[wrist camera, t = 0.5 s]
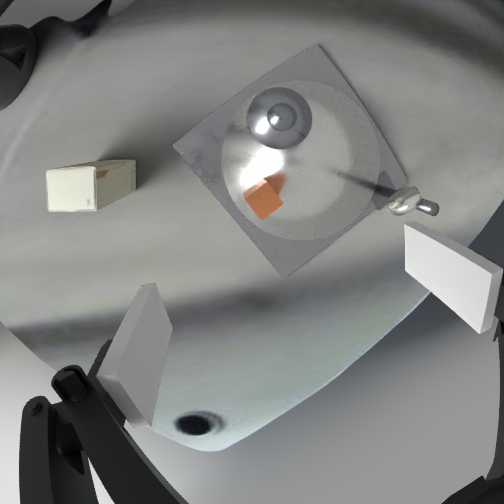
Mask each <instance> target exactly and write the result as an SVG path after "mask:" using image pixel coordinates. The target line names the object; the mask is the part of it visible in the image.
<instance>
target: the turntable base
mask: <svg viewBox="0 0 504 504" xmlns="http://www.w3.org/2000/svg"><path fill="white" fill-rule="evenodd" d="M294 80H306V81H313V82H318V83H321V84H325V85H328V86H330V87H332V88H335V89H337V90H338V91H340V92H342V93H343V94H345V95H346V96H347V97H349V98H350V99H351V100H352V101H354V102H355V103H356V104H357V106H358V107H359V108H360V109H361V110H362V111H363V113H364V114H365V115H366V117H367V118H368V120H369V122H370V124H371V125H372V128H373V130H374V132H375V135H376V138H377V142H378V146H379V153H380V169H379V175H381V174H382V173H383V172H384V171H386V172H387V174H388V176H389V177H390V179H391V181H392V183H393V185H394V187H395V188H396V190H398V189H400V188H401V187H402V186H403V185H405V184H406V183H407V182H408V181H407V179H406V177H405V175H404V173H403V171H402V169H401V167H400V165H399V164H398V162H397V160H396V158H395V156H394V155H393V153H392V151H391V149H390V148H389V146H388V144H387V142H386V141H385V139H384V137H383V136H382V134H381V132H380V131H379V129H378V128H377V126H376V124H375V123H374V121H373V120H372V118H371V117H370V115H369V113H368V112H367V110H366V109H365V107H364V106H363V104H362V103H361V101H360V100H359V99H358V97H357V96H356V94H355V93H354V91H353V90H352V89H351V87H350V86H349V84H348V83H347V82H346V80H345V79H344V78H343V76H342V75H341V74H340V72H339V71H338V70H337V68H336V67H335V66H334V65H333V63H332V62H331V61H330V59H329V58H328V57H327V56H326V55H325V53H324V52H323V51H322V50H321V48H320V47H319V46H318V45H317V44H315V45H313V46H311V47H310V48H308V49H306V50H304V51H303V52H301V53H299V54H298V55H296V56H294V57H293V58H291V59H289V60H288V61H286V62H285V63H283V64H281V65H280V66H278V67H277V68H275V69H273V70H272V71H270V72H269V73H267V74H266V75H264V76H263V77H261V78H260V79H258V80H257V81H255V82H254V83H252V84H251V85H250V86H248V87H247V88H245V89H244V90H242V91H241V92H240V93H238V94H237V95H235V96H234V97H233V98H231V99H230V100H229V101H227V102H226V103H225V104H223V105H222V106H221V107H219V108H218V109H217V110H215V111H214V112H213V113H211V114H210V115H209V116H208V117H206V118H205V119H204V120H202V121H201V122H200V123H199V124H197V125H196V126H195V127H194V128H193V129H191V130H190V131H189V132H188V133H186V134H185V135H184V136H183V137H182V138H180V139H179V140H178V141H177V142H176V143H175V144H173V145H172V146H173V148H174V149H175V150H176V151H177V152H178V154H179V155H180V156H181V157H182V158H183V159H184V161H185V162H186V163H187V164H188V165H189V167H190V168H191V169H192V170H193V171H194V172H195V174H196V175H197V176H198V177H199V178H200V180H201V181H202V182H203V183H204V184H205V186H206V187H207V188H208V189H209V190H210V191H211V193H212V194H213V195H214V196H215V197H216V199H217V200H218V201H219V202H220V203H221V205H222V206H223V207H224V208H225V209H226V211H227V212H228V213H229V214H230V215H231V216H232V218H233V219H234V220H235V221H236V222H237V224H238V225H239V226H240V227H241V228H242V230H243V231H244V232H245V233H246V234H247V236H248V237H249V238H250V239H251V240H252V242H253V243H254V244H255V245H256V246H257V248H258V249H259V250H260V251H261V252H262V254H263V255H264V256H265V257H266V258H267V260H268V261H269V262H270V263H271V264H272V266H273V267H274V268H275V269H276V270H277V272H278V273H279V274H280V275H281V276H282V278H283V279H284V278H285V277H287V276H288V275H290V274H291V273H292V272H294V271H295V270H296V269H298V268H299V267H300V266H302V265H303V264H304V263H306V262H307V261H308V260H310V259H311V258H312V257H314V256H315V255H316V254H317V253H319V252H320V251H321V250H323V249H324V248H325V247H327V246H328V245H329V244H331V243H332V242H333V241H334V240H336V239H337V238H338V237H340V236H341V235H342V234H343V233H345V232H346V231H347V230H349V229H350V228H351V227H352V226H354V225H355V224H356V223H357V222H359V221H360V220H361V219H363V218H364V217H365V216H366V215H368V214H369V213H370V212H371V211H373V210H374V209H375V208H376V206H375V204H374V202H373V200H372V199H370V201H369V203H368V204H367V206H366V207H365V209H364V210H363V211H362V212H361V214H360V215H359V216H358V217H357V218H356V219H355V220H354V221H353V222H351V223H350V224H349V225H348V226H346V227H345V228H343V229H342V230H340V231H338V232H336V233H334V234H332V235H329V236H326V237H323V238H319V239H314V240H291V239H285V238H281V237H278V236H275V235H272V234H270V233H268V232H266V231H264V230H262V229H261V228H259V227H257V226H256V225H255V224H253V223H252V222H251V221H250V220H249V219H247V218H246V216H245V215H244V214H243V213H242V212H241V211H240V210H239V208H238V207H237V206H236V204H235V203H234V201H233V199H232V197H231V196H230V194H229V191H228V189H227V186H226V183H225V180H224V175H223V170H222V148H223V142H224V138H225V135H226V132H227V129H228V127H229V125H230V123H231V121H232V119H233V117H234V116H235V114H236V113H237V111H238V110H239V109H240V107H241V106H242V105H243V104H244V103H245V102H246V101H247V100H248V99H250V98H251V97H252V96H253V95H255V94H256V93H258V92H259V91H261V90H263V89H264V88H267V87H269V86H272V85H274V84H277V83H281V82H285V81H294Z"/></svg>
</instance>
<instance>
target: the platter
mask: <svg viewBox="0 0 504 504" xmlns="http://www.w3.org/2000/svg"><path fill="white" fill-rule="evenodd" d="M274 87H284V88H288V89H291V90H294V91H295V92H297V93H299V94H300V95H301V96H302V97H303V98H304V99H305V100H306V101H307V103H308V105H309V107H310V109H311V112H312V127H311V130H310V132H309V134H308V136H307V137H306V138H305V139H304V141H302V142H301V143H300V144H298V145H297V146H295V147H292V148H289V149H270V148H267V147H264V146H262V145H260V144H259V143H257V142H256V141H255V140H254V139H253V138H252V136H251V135H250V133H249V131H248V129H247V125H246V114H247V111H248V108H249V106H250V104H251V103H252V101H253V100H254V98H255V97H256V96H257V95H258V94H259V93H261V92H262V91H264V90H267V89H269V88H274ZM379 169H380V153H379V146H378V142H377V138H376V135H375V132H374V130H373V128H372V125H371V124H370V122H369V120H368V118H367V117H366V115H365V114H364V113H363V111H362V110H361V109H360V108H359V107H358V106H357V104H356V103H355V102H354V101H352V100H351V99H350V98H349V97H347V96H346V95H345V94H343V93H342V92H340V91H338V90H337V89H335V88H332V87H330V86H328V85H325V84H321V83H318V82H313V81H306V80H294V81H285V82H281V83H277V84H274V85H272V86H269V87H267V88H264V89H263V90H261V91H259V92H258V93H256V94H255V95H253V96H252V97H251V98H250V99H248V100H247V101H246V102H245V103H244V104H243V105H242V106H241V107H240V109H239V110H238V111H237V113H236V114H235V116H234V117H233V119H232V121H231V123H230V125H229V127H228V129H227V132H226V135H225V138H224V142H223V148H222V170H223V175H224V180H225V183H226V186H227V189H228V191H229V194H230V196H231V197H232V199H233V201H234V203H235V204H236V206H237V207H238V208H239V210H240V211H241V212H242V213H243V214H244V215H245V216H246V218H247V219H249V220H250V221H251V222H252V223H253V224H255V225H256V226H257V227H259V228H261V229H262V230H264V231H266V232H268V233H270V234H272V235H275V236H278V237H281V238H285V239H291V240H314V239H319V238H323V237H326V236H329V235H332V234H334V233H336V232H338V231H340V230H342V229H343V228H345V227H346V226H348V225H349V224H350V223H351V222H353V221H354V220H355V219H356V218H357V217H358V216H359V215H360V214H361V212H362V211H363V210H364V209H365V207H366V206H367V204H368V203H369V201H370V199H371V197H372V195H373V193H374V190H375V188H376V185H377V181H378V177H379Z"/></svg>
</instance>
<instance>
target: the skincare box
mask: <svg viewBox="0 0 504 504" xmlns="http://www.w3.org/2000/svg"><path fill="white" fill-rule="evenodd" d="M135 190H136V160H106V161H96V162H89V163H84V164H78V165H72V166H66V167H61V168H56V169H51V170H47V171H46V191H47V209H48V211H50V212H51V211H97V210H99V209H101V208H103V207H105V206H107V205H108V204H110V203H112V202H114V201H116V200H118V199H120V198H122V197H124V196H126V195H129V194H131V193H133V192H135Z"/></svg>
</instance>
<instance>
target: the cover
mask: <svg viewBox="0 0 504 504" xmlns="http://www.w3.org/2000/svg"><path fill="white" fill-rule="evenodd" d="M246 125H247V129H248V131H249V133H250V135H251V136H252V138H253V139H254V140H255V141H256V142H257V143H259V144H260V145H262V146H264V147H267V148H270V149H289V148H292V147H295V146H297V145H298V144H300V143H301V142H302V141H304V139H305V138H306V137H307V136H308V134H309V132H310V130H311V127H312V112H311V109H310V107H309V105H308V103H307V101H306V100H305V99H304V98H303V97H302V96H301V95H300V94H299V93H297V92H295V91H294V90H291V89H288V88H284V87H274V88H269V89H267V90H264V91H262V92H261V93H259V94H258V95H257V96H256V97H255V98H254V100H253V101H252V103H251V104H250V106H249V108H248V111H247V114H246Z"/></svg>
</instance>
